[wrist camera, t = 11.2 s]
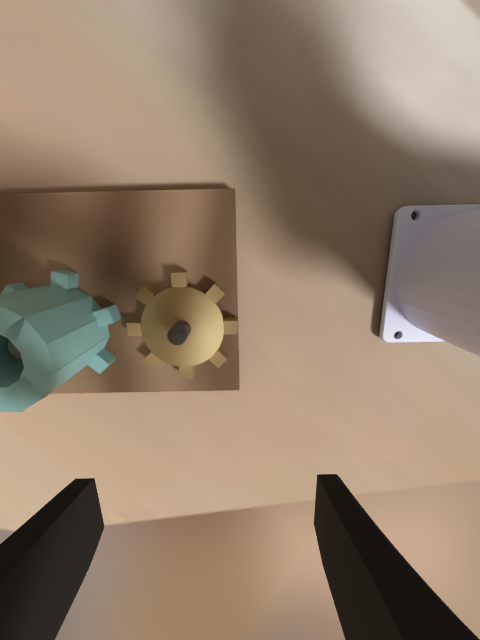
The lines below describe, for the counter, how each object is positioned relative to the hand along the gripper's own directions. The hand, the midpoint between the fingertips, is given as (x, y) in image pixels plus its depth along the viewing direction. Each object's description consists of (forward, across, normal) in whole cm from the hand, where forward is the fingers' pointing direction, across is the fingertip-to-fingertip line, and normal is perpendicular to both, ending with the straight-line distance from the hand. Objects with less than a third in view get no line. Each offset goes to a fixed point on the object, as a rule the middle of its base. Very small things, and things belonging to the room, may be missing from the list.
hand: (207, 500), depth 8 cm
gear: (+9, +9, -4) cm, 13 cm away
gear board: (+9, +6, -5) cm, 12 cm away
